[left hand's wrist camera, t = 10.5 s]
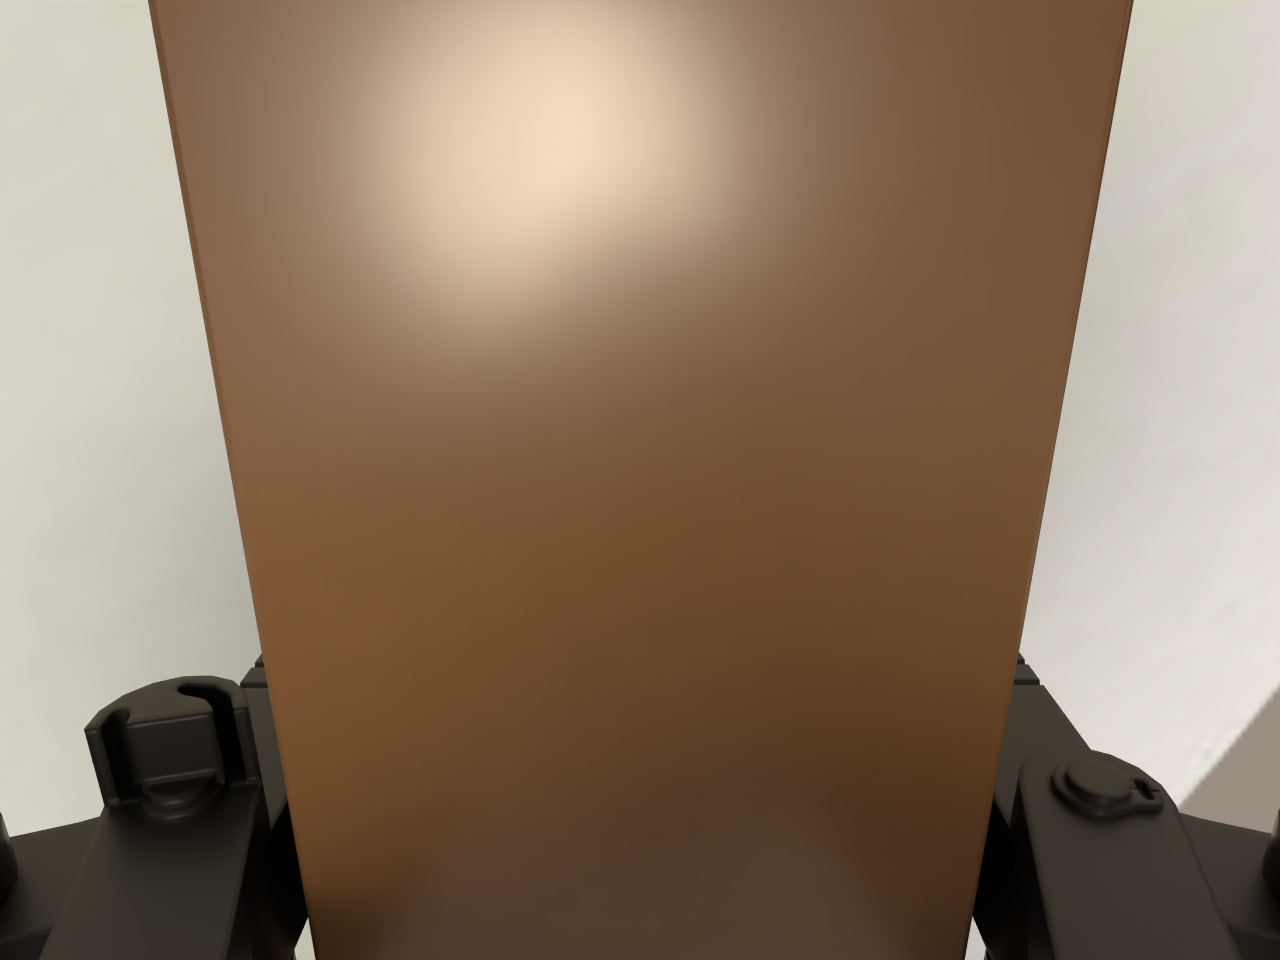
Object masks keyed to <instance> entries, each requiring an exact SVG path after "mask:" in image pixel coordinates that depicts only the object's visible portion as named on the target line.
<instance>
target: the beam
mask: <svg viewBox="0 0 1280 960" xmlns="http://www.w3.org/2000/svg"><path fill="white" fill-rule="evenodd" d="M1133 1H1134V0H148V4H149V9H150V15H151V21H152V26H153V32H154V38H155V44H156V49H157V55H158V61H159V66H160V72H161V78H162V84H163V89H164V95H165V101H166V106H167V112H168V118H169V124H170V129H171V135H172V141H173V146H174V152H175V158H176V164H177V169H178V175H179V181H180V187H181V192H182V198H183V204H184V209H185V215H186V221H187V227H188V232H189V238H190V244H191V249H192V255H193V261H194V267H195V272H196V278H197V284H198V289H199V295H200V301H201V307H202V312H203V318H204V324H205V330H206V335H207V341H208V347H209V352H210V358H211V364H212V370H213V375H214V381H215V387H216V392H217V398H218V404H219V410H220V415H221V421H222V427H223V432H224V438H225V444H226V450H227V455H228V461H229V467H230V473H231V478H232V484H233V490H234V495H235V501H236V507H237V513H238V518H239V524H240V530H241V535H242V541H243V547H244V553H245V558H246V564H247V570H248V575H249V581H250V587H251V593H252V598H253V604H254V610H255V616H256V621H257V627H258V633H259V638H260V644H261V650H262V656H263V661H264V667H265V673H266V678H267V684H268V690H269V696H270V701H271V707H272V713H273V718H274V724H275V730H276V736H277V741H278V747H279V753H280V758H281V764H282V770H283V776H284V781H285V787H286V793H287V799H288V804H289V810H290V816H291V821H292V827H293V833H294V839H295V844H296V850H297V856H298V861H299V867H300V873H301V879H302V884H303V890H304V896H305V901H306V907H307V913H308V919H309V924H310V930H311V936H312V942H313V947H314V953H315V959H316V960H965V955H966V949H967V943H968V937H969V932H970V926H971V920H972V915H973V909H974V903H975V898H976V892H977V886H978V881H979V875H980V869H981V864H982V858H983V852H984V847H985V841H986V835H987V830H988V824H989V818H990V813H991V807H992V801H993V796H994V790H995V784H996V779H997V773H998V767H999V761H1000V756H1001V750H1002V744H1003V739H1004V733H1005V727H1006V722H1007V716H1008V710H1009V705H1010V699H1011V693H1012V688H1013V682H1014V676H1015V671H1016V665H1017V659H1018V654H1019V648H1020V642H1021V637H1022V631H1023V625H1024V620H1025V614H1026V608H1027V603H1028V597H1029V591H1030V585H1031V580H1032V574H1033V568H1034V563H1035V557H1036V551H1037V546H1038V540H1039V534H1040V529H1041V523H1042V517H1043V512H1044V506H1045V500H1046V495H1047V489H1048V483H1049V478H1050V472H1051V466H1052V461H1053V455H1054V449H1055V444H1056V438H1057V432H1058V427H1059V421H1060V415H1061V409H1062V404H1063V398H1064V392H1065V387H1066V381H1067V375H1068V370H1069V364H1070V358H1071V353H1072V347H1073V341H1074V336H1075V330H1076V324H1077V319H1078V313H1079V307H1080V302H1081V296H1082V290H1083V285H1084V279H1085V273H1086V268H1087V262H1088V256H1089V251H1090V245H1091V239H1092V234H1093V228H1094V222H1095V216H1096V211H1097V205H1098V199H1099V194H1100V188H1101V182H1102V177H1103V171H1104V165H1105V160H1106V154H1107V148H1108V143H1109V137H1110V131H1111V126H1112V120H1113V114H1114V109H1115V103H1116V97H1117V92H1118V86H1119V80H1120V75H1121V69H1122V63H1123V58H1124V52H1125V46H1126V40H1127V35H1128V29H1129V23H1130V18H1131V12H1132V6H1133Z"/></svg>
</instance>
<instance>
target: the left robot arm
mask: <svg viewBox="0 0 1280 960" xmlns="http://www.w3.org/2000/svg"><path fill="white" fill-rule="evenodd" d="M84 731H85V735H86V739H87V742H88V746H89V750H90V753H91V757H92V761H93V765H94V768H95V772H96V776H97V779H98V783H99V787H100V791H101V794H102V798H103V802H104V805H105V806H104V808H103V811H102V813H101V815H100V817H96V818H93V819H89V820H86V821H82V822H78V823H74V824H69V825H65V826H60V827H55V828H51V829H46V830H41V831H37V832H32V833H28V834H23V835H18V836H14V837H9V835H8V832H7V829H6V826H5V823H4V820H3V817H2V814H1V813H0V960H296V956H295V951H294V949H295V947H296V944H297V942H298V940H299V937H300V935H301V933H302V930H303V928H304V926H305V923H306V921H307V918H308V913H307V907H306V901H305V896H304V890H303V884H302V879H301V873H300V867H299V861H298V856H297V850H296V844H295V839H294V833H293V827H292V821H291V816H290V810H289V804H288V799H287V793H286V787H285V781H284V776H283V770H282V764H281V758H280V753H279V747H278V741H277V736H276V730H275V724H274V718H273V713H272V707H271V701H270V696H269V690H268V684H267V678H266V673H265V667H264V661H263V656H262V654H261V655H260V657H259V658H258V659H257V661H256V662H255V668H251V669H250V670H249V672H248V673H247V674H246V676H245V677H244V679H243V680H242V681H241V683H240V686H239V685H238V684H236V683H235V682H234V681H232V680H228V679H224V678H219V677H215V676H183V677H178V678H174V679H169V680H165V681H160V682H156V683H152V684H150V685H147V686H145V687H142V688H140V689H137V690H135V691H132V692H130V693H128V694H125V695H123V696H121V697H120V698H118V699H117V700H115V701H114V702H112V703H111V704H109V705H108V706H106V707H105V708H103V709H102V710H100V711H99V712H98V713H97V714H96V715H95V717H94V718H93V719H92V720H91V721H90V723H89V724H88V725H87V726H86V727H85V728H84ZM972 916H973V918H974V920H975V923H976V925H977V927H978V930H979V932H980V934H981V937H982V939H983V942H984V944H985V946H986V951H985V956H984V960H1280V809H1279V811H1278V814H1277V817H1276V820H1275V823H1274V826H1273V829H1272V833H1271V834H1270V833H1266V832H1261V831H1256V830H1252V829H1247V828H1242V827H1238V826H1233V825H1228V824H1224V823H1219V822H1214V821H1210V820H1205V819H1201V818H1197V817H1194V816H1190V815H1186V814H1183V813H1179V811H1178V809H1177V807H1176V804H1175V803H1174V802H1173V800H1172V799H1171V797H1170V796H1169V795H1168V793H1167V792H1166V791H1165V789H1164V788H1163V786H1162V785H1161V784H1159V783H1158V782H1157V781H1155V780H1154V779H1153V778H1152V777H1150V776H1149V775H1148V774H1146V773H1145V772H1144V771H1142V770H1141V769H1140V768H1138V767H1136V766H1134V765H1132V764H1130V763H1127V762H1125V761H1123V760H1121V759H1119V758H1117V757H1115V756H1112V755H1110V754H1106V753H1102V752H1098V751H1094V750H1091V749H1090V748H1089V747H1088V745H1087V744H1086V742H1085V741H1084V740H1083V738H1082V737H1081V736H1080V734H1079V733H1078V732H1077V730H1076V729H1075V727H1074V726H1073V725H1072V723H1071V722H1070V721H1069V719H1068V718H1067V717H1066V715H1065V714H1064V713H1063V711H1062V710H1061V708H1060V707H1059V706H1058V704H1057V703H1056V702H1055V700H1054V699H1053V698H1052V696H1051V695H1050V693H1049V692H1048V691H1047V689H1046V688H1045V687H1044V685H1040V680H1039V678H1038V677H1037V676H1036V674H1035V673H1034V672H1033V670H1032V669H1031V668H1030V666H1029V665H1025V659H1024V658H1023V657H1022V655H1021V654H1020V653H1019V654H1018V659H1017V665H1016V671H1015V676H1014V682H1013V688H1012V693H1011V699H1010V705H1009V710H1008V716H1007V722H1006V727H1005V733H1004V739H1003V744H1002V750H1001V756H1000V761H999V767H998V773H997V779H996V784H995V790H994V796H993V801H992V807H991V813H990V818H989V824H988V830H987V835H986V841H985V847H984V852H983V858H982V864H981V869H980V875H979V881H978V886H977V892H976V898H975V903H974V909H973V915H972Z"/></svg>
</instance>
